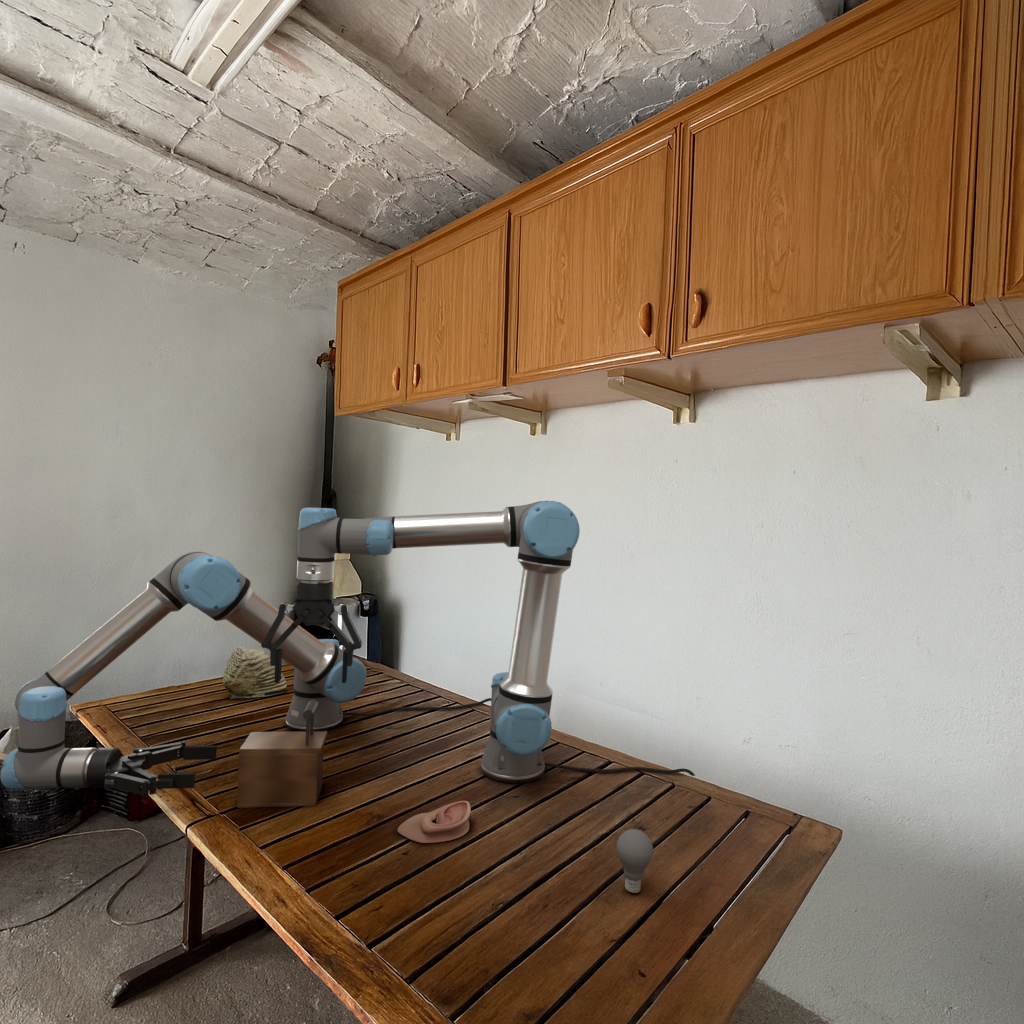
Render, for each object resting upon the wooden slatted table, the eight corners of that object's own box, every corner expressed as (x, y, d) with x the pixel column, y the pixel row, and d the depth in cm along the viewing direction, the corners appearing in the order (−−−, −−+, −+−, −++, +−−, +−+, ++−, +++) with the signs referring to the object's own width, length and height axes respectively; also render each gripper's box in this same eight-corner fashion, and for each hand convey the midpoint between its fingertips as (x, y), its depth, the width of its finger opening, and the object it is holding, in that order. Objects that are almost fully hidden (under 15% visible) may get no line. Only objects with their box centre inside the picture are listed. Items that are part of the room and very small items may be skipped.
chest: (322, 785, 139) (324, 736, 139) (315, 805, 130) (317, 754, 130) (249, 786, 137) (251, 737, 137) (237, 807, 128) (239, 755, 127)
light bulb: (610, 879, 108) (613, 822, 108) (644, 879, 109) (647, 822, 109) (619, 902, 102) (622, 840, 102) (655, 901, 103) (658, 840, 103)
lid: (327, 736, 139) (328, 697, 139) (320, 753, 130) (322, 712, 130) (251, 737, 137) (252, 697, 136) (239, 755, 127) (240, 712, 127)
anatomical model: (391, 817, 118) (413, 790, 130) (390, 838, 118) (412, 809, 130) (459, 827, 116) (476, 799, 127) (459, 849, 116) (475, 819, 127)
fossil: (218, 695, 195) (220, 647, 195) (278, 685, 208) (279, 640, 207) (228, 703, 189) (230, 653, 188) (289, 692, 201) (290, 645, 201)
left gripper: (122, 760, 140) (223, 758, 143) (58, 817, 115) (182, 813, 118) (123, 726, 140) (224, 725, 143) (59, 776, 115) (184, 773, 118)
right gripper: (248, 581, 128) (244, 686, 128) (374, 584, 131) (370, 686, 132) (257, 577, 135) (253, 676, 136) (376, 580, 139) (372, 676, 139)
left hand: (205, 765), depth 131 cm, fingers open, 13 cm apart
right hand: (311, 681), depth 134 cm, fingers open, 13 cm apart
